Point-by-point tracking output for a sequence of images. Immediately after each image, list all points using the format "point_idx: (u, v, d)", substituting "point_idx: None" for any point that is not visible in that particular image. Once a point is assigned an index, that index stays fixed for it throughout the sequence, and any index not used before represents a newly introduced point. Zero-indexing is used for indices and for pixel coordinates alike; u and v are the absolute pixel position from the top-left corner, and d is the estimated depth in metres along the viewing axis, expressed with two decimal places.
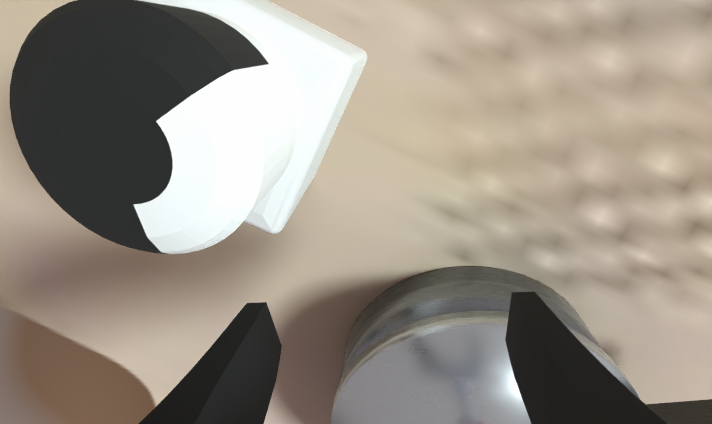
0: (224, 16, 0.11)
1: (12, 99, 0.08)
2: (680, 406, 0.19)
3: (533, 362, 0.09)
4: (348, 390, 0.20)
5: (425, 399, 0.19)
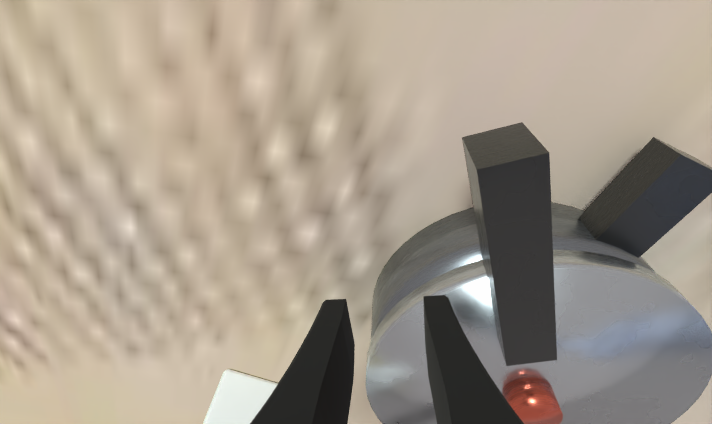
0: None
1: None
2: (478, 230, 0.15)
3: (432, 364, 0.09)
4: None
5: None
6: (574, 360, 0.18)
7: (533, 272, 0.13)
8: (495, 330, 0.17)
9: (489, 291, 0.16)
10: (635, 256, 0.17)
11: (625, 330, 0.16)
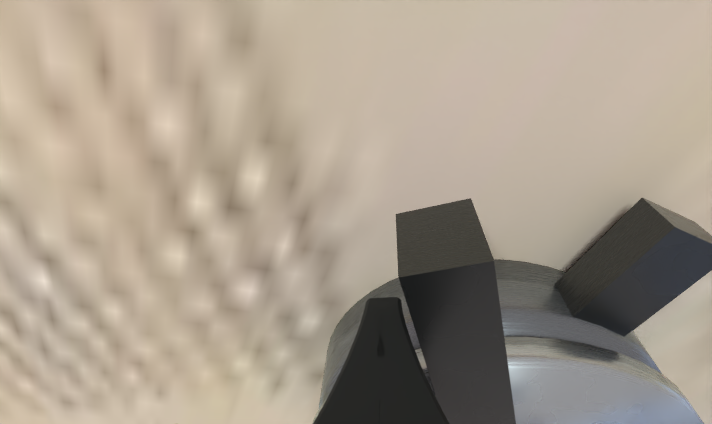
0: None
1: None
2: None
3: None
4: None
5: None
6: None
7: (485, 389, 0.10)
8: None
9: None
10: (620, 335, 0.14)
11: None
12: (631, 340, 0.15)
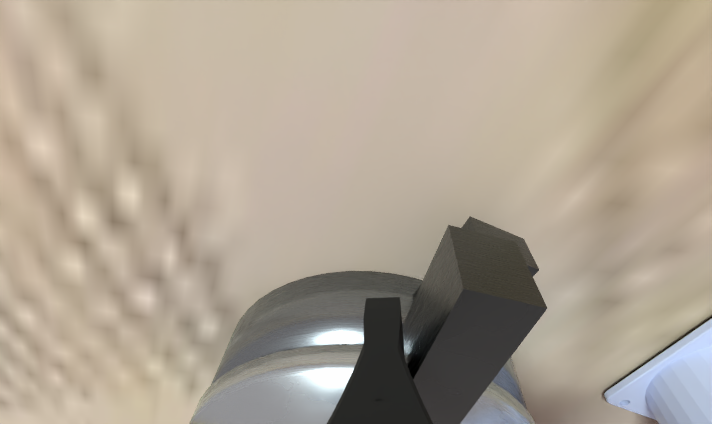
0: None
1: None
2: (405, 323, 0.12)
3: None
4: None
5: None
6: None
7: (448, 406, 0.11)
8: None
9: None
10: None
11: None
12: None
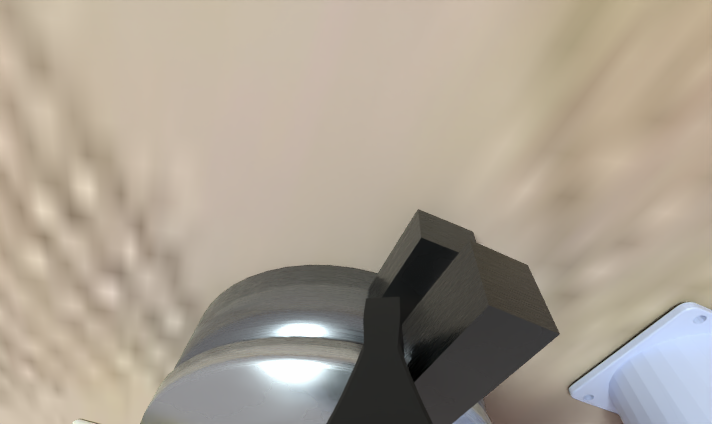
0: None
1: None
2: (403, 328, 0.13)
3: None
4: None
5: None
6: None
7: (437, 413, 0.11)
8: None
9: None
10: None
11: None
12: None
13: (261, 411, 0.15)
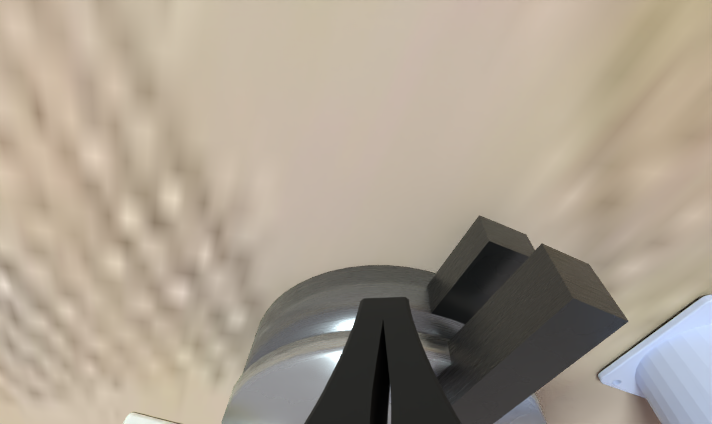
0: None
1: None
2: (475, 319, 0.14)
3: None
4: None
5: None
6: None
7: (513, 391, 0.13)
8: None
9: (440, 372, 0.15)
10: None
11: None
12: None
13: None
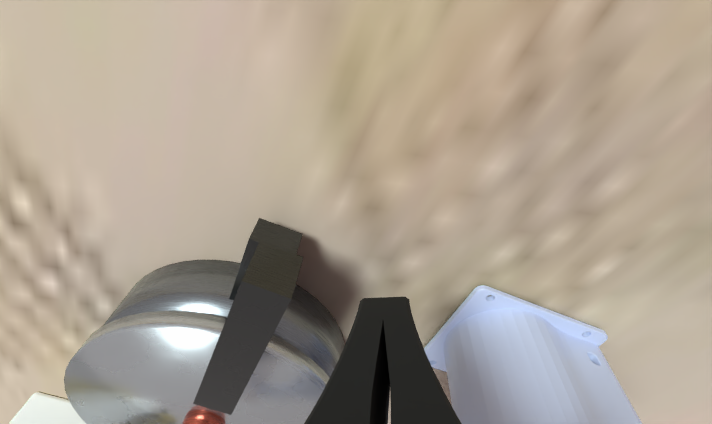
0: None
1: None
2: None
3: None
4: None
5: (135, 419, 0.23)
6: (250, 415, 0.22)
7: (244, 357, 0.17)
8: (205, 372, 0.20)
9: None
10: None
11: (292, 411, 0.22)
12: None
13: (148, 366, 0.20)
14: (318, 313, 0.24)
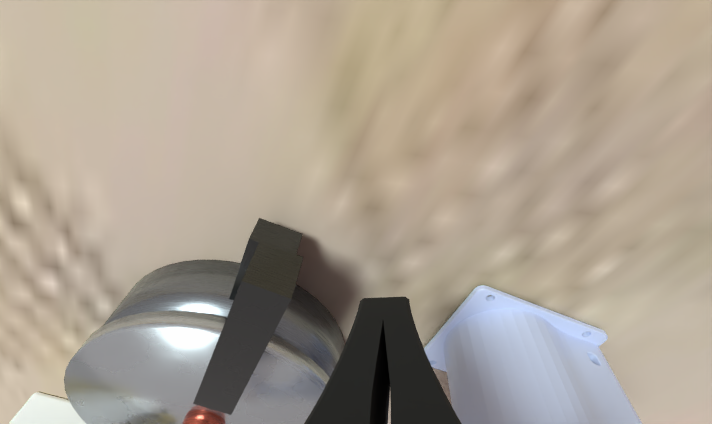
0: None
1: None
2: None
3: None
4: None
5: (135, 419, 0.23)
6: (250, 415, 0.22)
7: (244, 357, 0.17)
8: (205, 372, 0.20)
9: None
10: None
11: (292, 411, 0.22)
12: None
13: (148, 366, 0.20)
14: (318, 313, 0.24)
